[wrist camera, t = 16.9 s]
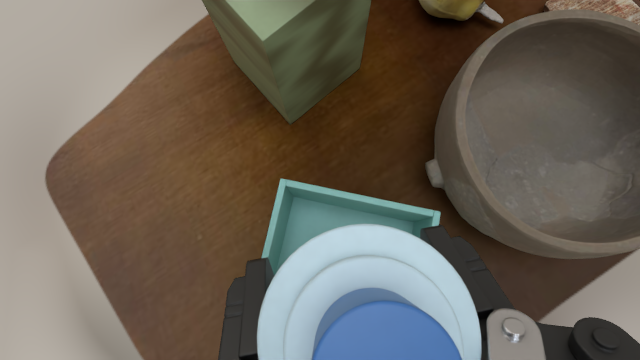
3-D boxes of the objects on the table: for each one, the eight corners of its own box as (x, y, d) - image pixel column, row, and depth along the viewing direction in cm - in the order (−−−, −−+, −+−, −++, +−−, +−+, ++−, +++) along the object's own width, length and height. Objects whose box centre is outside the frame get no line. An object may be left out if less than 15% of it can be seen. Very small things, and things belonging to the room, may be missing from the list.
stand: (290, 125, 33) (262, 41, 20) (233, 61, 35) (170, -60, 21) (359, 68, 34) (379, -51, 21) (301, 7, 36) (284, -141, 22)
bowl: (399, 229, 31) (431, 221, 21) (435, 53, 34) (478, -23, 25) (595, 277, 30) (724, 293, 20) (614, 91, 33) (735, 26, 23)
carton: (259, 324, 30) (240, 345, 24) (290, 191, 32) (280, 178, 26) (395, 357, 29) (413, 388, 23) (418, 218, 31) (441, 211, 25)
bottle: (295, 345, 18) (208, 589, 5) (295, 235, 19) (225, 213, 6) (404, 345, 18) (590, 596, 5) (398, 234, 19) (540, 210, 6)
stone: (549, 17, 37) (536, 2, 34) (614, -26, 33) (607, -47, 30) (582, 73, 35) (571, 64, 32) (655, 35, 31) (652, 19, 28)
